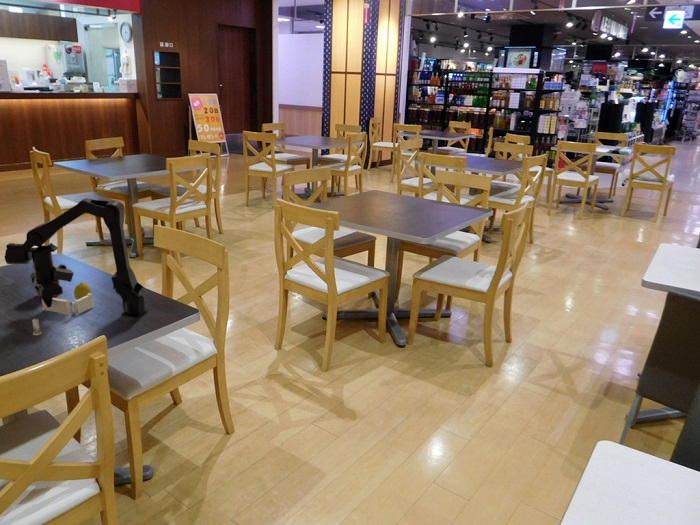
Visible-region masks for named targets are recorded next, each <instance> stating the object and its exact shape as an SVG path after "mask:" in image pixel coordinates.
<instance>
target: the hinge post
mask: <svg viewBox="0 0 700 525" xmlns="http://www.w3.org/2000/svg"><path fill="white" fill-rule="evenodd" d="M69 306H70V316H71V318H76V317H77V313H76V308H75V302H74V301H71V302H70V301H69Z"/></svg>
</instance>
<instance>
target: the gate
mask: <svg viewBox="0 0 700 525" xmlns="http://www.w3.org/2000/svg"><path fill="white" fill-rule="evenodd" d="M62 299H63V298H62ZM62 299H59V298H57V297H54V298H53V299H52V305H51V307H47V306H46V304H45V303H44V301H43V300H42V299H41V303H42V304H41V305H42V310H43V311H49V312H54V313H58V314H63V315H66V316H67V315H71V311H70V301H69V299H67V300H62Z"/></svg>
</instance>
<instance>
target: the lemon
mask: <svg viewBox="0 0 700 525" xmlns="http://www.w3.org/2000/svg"><path fill="white" fill-rule="evenodd" d="M73 292H74V293H73V294H74V298H75V301H76V300H78V299H80V298H82V297H84V296H87V294H88V293H90V294H92V289H91V287H90V286H89V285H88V284H87V283H84V282H80V283H79V284H77V285H76V286H75V287H74V290H73Z"/></svg>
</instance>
